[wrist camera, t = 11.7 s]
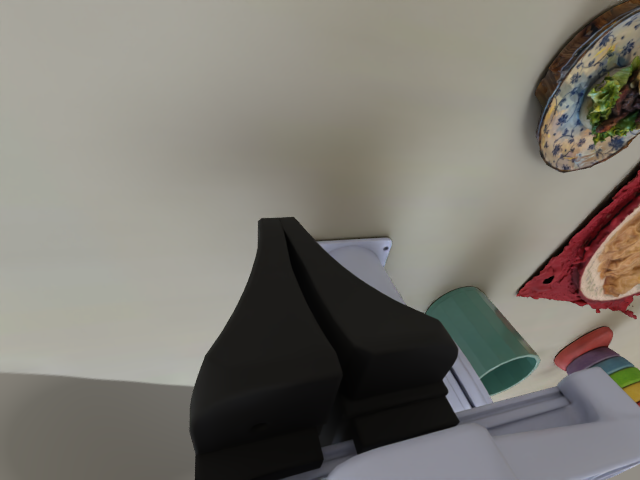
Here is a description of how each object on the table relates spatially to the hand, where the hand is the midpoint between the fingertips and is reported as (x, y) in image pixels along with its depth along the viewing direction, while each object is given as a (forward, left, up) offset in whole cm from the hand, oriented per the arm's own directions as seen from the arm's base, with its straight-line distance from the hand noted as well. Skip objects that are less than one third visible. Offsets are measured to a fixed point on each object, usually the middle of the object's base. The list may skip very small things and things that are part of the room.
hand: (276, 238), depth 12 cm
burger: (+4, -26, -11) cm, 28 cm away
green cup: (-20, -24, -10) cm, 33 cm away
